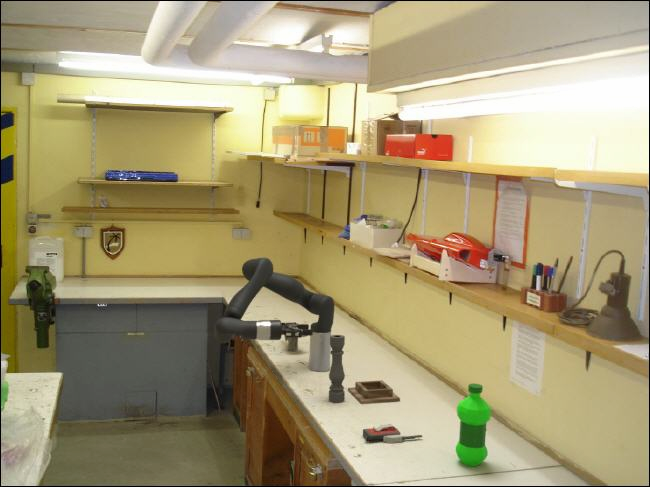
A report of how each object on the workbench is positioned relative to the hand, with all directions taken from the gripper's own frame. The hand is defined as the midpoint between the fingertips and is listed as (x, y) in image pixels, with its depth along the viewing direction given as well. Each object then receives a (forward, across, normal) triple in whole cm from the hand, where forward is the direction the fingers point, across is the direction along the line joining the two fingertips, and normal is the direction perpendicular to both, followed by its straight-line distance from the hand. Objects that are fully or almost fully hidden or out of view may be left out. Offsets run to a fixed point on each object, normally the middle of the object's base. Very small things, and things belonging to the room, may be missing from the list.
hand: (310, 329), depth 278 cm
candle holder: (+11, 0, +28) cm, 30 cm away
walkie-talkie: (+22, -39, +29) cm, 53 cm away
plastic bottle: (+41, -61, +28) cm, 79 cm away
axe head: (+6, +76, +28) cm, 81 cm away
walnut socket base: (+27, +4, +28) cm, 39 cm away
